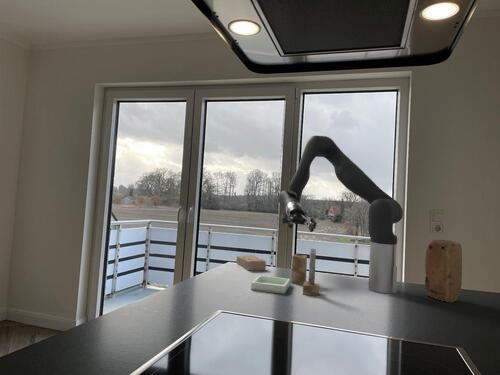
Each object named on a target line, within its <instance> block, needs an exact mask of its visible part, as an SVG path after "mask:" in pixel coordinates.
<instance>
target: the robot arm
mask: <svg viewBox="0 0 500 375" xmlns="http://www.w3.org/2000/svg"><path fill="white" fill-rule="evenodd" d="M316 158H324V159H326V160H327V161H328V162H329V163H330V164H331V165H332V166H333V168H334V173H335V176H336V178H337V179H338V181H339V182H340V183H341V184H342V185H343V186H344V187H345V188H346V189H347V190H349V192H351V193H353V194H354V195H356V196H357V197H359V198H361V199H363V200H364V201H366V202H367V203H368V204H370V205H369V208H368V214H367V216H368V217H367V218H368V220H367V222H368V223H367V224H368V227H367V228H368V229H367V230H368V235H369V239H370V241H369V242H370V243H369V244H370V245H369V259H368V260H369V264H368V265H369V266H368V282H367V283H368V286H367V287H368V289H369V290H370V291H373V292H375V293H376V292H377V293H381V294H397V280H398V279H397V278H398V266H397V255H398V254H397V253H398V252H397V251H398V236H397V235H395V234H394V231H393V224H397V223H399V222H400V221H401V220H402V219H403V215H404V211H403V208H402V205H401V204H400V203H399V202H398V201H397V200H396V199H395V198H393V197H391V195H389V194H388V193H386V192H385V191H383V189H381V188H380V187H379V186H378V185H377V184H376V183H375V182H374V181H373V180H372V179H371V178H370V177H369V176H368V175H367V174H366V173H365V172H364V171H363V170H362V169H361V168H360V167H359V166H358V165H357V164H356V163H354V161H353V160H351V159H350V158H349V156H347V155H346V154H345V153H344V152H343V151H342V150H341V149H340V147H339V146H338V145H337V144H336V143H335V141H334V140H333V139H332V138H331V137H329V136H327V135H312V136H310V137H309V138H308V140H307V142H306V144H305V147H304V149H303V152H302V155H301V158H300V160H299V164H298V167H297V169H296V171H295V173H294V175H293V176H292V179H291V181H290V183H289V184H288V187H289V190H290V191H288V190H285V189H284V190H282V191H281V192H279V193H278V202H279V204H280V205H281V207H283V209H285V212H282V214H281V223H282V224H283V225H285V224H286V226H288V228H289V229H293V225H300V226H303V227H304V228H308V230H309V232H310V233H313V232H314V230H315V229H316V227H317V221H316V220H315V218H314V217H310V218H308V217H306V213H305V210H304V208H303V206H302V205H301V204H300V203H301V198H302V194H303V191H304V189H305V187H306V186H307V185H308V182H309V180H310V177H311V176H310V175H311V165H312V163H313V161H314V160H315V159H316ZM291 191H292V192H291Z"/></svg>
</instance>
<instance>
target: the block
mask: <svg viewBox="0 0 500 375" xmlns="http://www.w3.org/2000/svg"><path fill="white" fill-rule="evenodd" d="M424 264H425V265H424V268H425V271H424V272H425V278H424V293H425V294H426V295H427V296H428V297H430V298H432V299H434V298H435V300H437V299H438V300H437V301H439V300H441V301H440V302H443V301H446V302H445V303H455V302H454V301H456V302H457V301H458V299H459V296H460V294H461V292H462V282H463V281H462V280H463V279H462V278H463V276H462V275H463V248H462V244H461V243H460V242H454V241H452V240H446V239H433V240H432V241H430V242H429V243H428V245H427V247H426V250H425V259H424Z"/></svg>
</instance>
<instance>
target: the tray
mask: <svg viewBox="0 0 500 375" xmlns="http://www.w3.org/2000/svg"><path fill="white" fill-rule="evenodd" d="M250 283H251V285H250V291H257V292H258V291H259V292H265V293H266V292H267V293H274V294H275V293H276V294H282V295H285V294H286V293H287V291H288V290H289V289H290V287H291V278H288V277H287V278H285V277H277V276H270V275H269V276H268V275H258V276H257V277H255V279H254V280H253V281H252V282H250Z"/></svg>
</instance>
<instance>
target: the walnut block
mask: <svg viewBox="0 0 500 375" xmlns="http://www.w3.org/2000/svg"><path fill="white" fill-rule="evenodd" d="M291 257H292V258H291V277H290V284H297V285H298V284H299V285H304V283H305V282H307V269H308V268H307V265H308V255H305V254H296V253H294V254H293V255H292V256H291Z"/></svg>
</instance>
